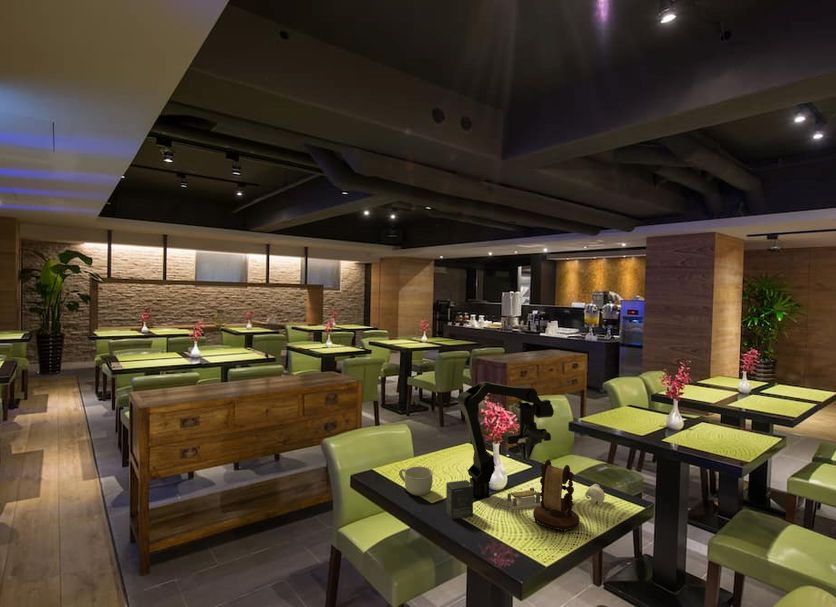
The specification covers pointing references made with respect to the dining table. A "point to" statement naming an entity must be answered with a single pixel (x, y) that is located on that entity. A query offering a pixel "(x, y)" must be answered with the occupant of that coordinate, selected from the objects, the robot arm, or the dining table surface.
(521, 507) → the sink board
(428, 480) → the teacup
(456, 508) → the box
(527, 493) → the strap
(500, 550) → the dining table surface
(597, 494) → the elephant figurine
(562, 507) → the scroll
